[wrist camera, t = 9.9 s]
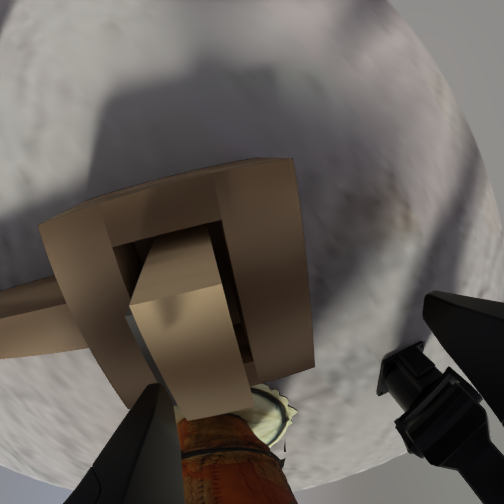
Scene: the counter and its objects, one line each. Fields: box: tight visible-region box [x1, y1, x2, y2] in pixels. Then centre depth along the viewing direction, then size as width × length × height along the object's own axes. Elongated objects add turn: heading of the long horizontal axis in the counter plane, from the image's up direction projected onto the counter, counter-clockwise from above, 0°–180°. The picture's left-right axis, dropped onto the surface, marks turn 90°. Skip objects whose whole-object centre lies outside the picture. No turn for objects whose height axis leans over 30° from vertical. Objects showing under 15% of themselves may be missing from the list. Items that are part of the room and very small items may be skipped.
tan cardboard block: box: [125, 224, 255, 421], centre depth 13 cm, size 6×4×8 cm, turn 10°
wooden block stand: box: [0, 158, 315, 409], centre depth 15 cm, size 12×34×7 cm, turn 100°
